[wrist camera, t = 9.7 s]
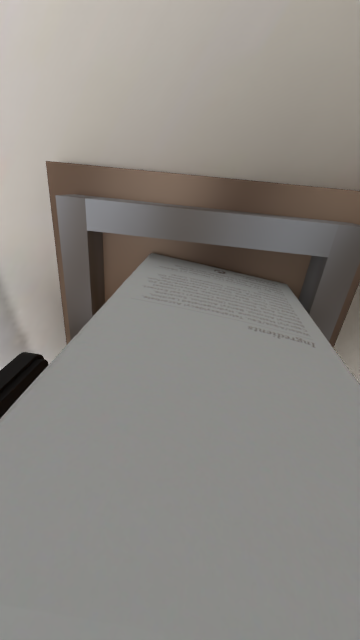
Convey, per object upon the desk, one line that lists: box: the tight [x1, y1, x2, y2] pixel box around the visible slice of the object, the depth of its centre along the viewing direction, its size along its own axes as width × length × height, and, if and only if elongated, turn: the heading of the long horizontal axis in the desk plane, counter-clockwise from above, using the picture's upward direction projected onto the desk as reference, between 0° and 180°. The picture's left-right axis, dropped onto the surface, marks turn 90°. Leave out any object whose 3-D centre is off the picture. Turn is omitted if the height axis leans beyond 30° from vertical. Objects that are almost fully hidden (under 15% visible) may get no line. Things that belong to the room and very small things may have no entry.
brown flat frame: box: [46, 161, 360, 347], centre depth 12 cm, size 12×14×2 cm
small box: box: [0, 253, 360, 640], centre depth 8 cm, size 8×6×10 cm
